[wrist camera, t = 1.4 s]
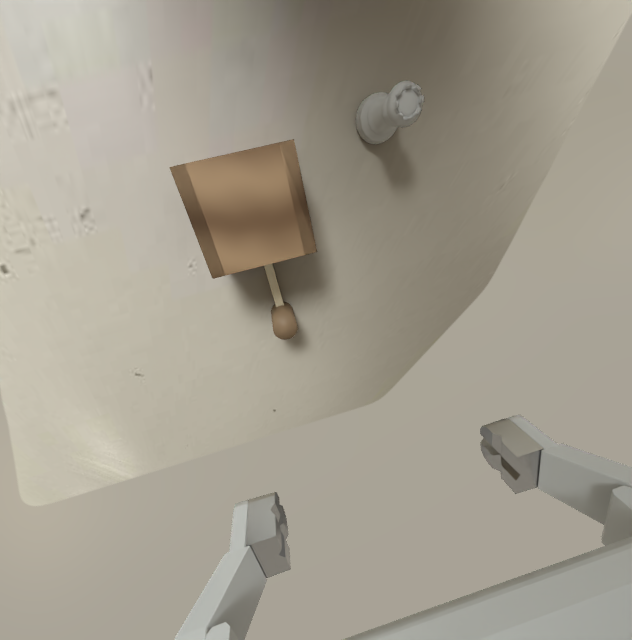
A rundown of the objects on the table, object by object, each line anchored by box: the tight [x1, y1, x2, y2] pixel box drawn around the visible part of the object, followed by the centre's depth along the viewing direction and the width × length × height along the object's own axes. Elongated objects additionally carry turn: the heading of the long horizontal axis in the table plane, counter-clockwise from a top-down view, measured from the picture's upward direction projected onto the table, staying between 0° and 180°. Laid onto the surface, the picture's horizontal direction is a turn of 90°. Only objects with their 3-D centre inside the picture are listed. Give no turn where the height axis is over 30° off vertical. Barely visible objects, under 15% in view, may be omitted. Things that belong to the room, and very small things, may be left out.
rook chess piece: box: [356, 80, 424, 144], centre depth 28 cm, size 4×4×8 cm
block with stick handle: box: [264, 264, 298, 339], centre depth 33 cm, size 16×5×5 cm, turn 12°
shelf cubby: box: [170, 139, 317, 278], centre depth 29 cm, size 9×10×8 cm
